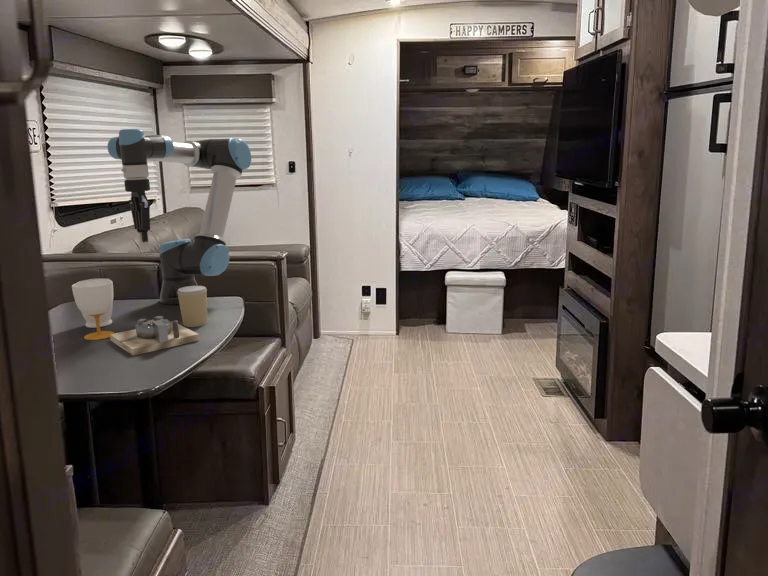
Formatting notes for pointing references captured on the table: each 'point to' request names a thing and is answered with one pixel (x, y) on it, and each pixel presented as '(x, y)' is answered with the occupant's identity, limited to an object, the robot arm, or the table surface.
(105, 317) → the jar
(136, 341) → the housing plate
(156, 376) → the table surface
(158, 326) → the grey notched machine part
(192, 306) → the coffee cup
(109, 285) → the cup
